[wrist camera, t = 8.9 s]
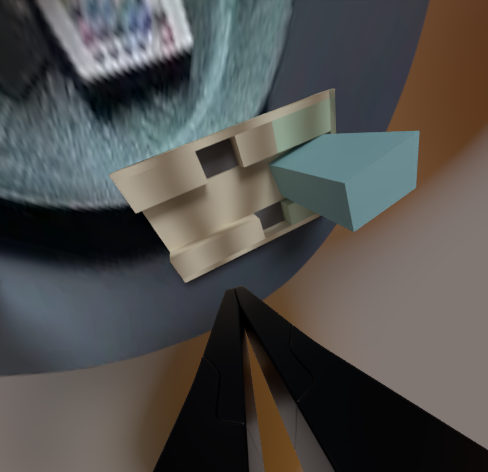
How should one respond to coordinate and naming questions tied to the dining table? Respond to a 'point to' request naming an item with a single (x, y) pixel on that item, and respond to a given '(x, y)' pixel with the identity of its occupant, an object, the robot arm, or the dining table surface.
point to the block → (349, 174)
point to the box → (225, 186)
